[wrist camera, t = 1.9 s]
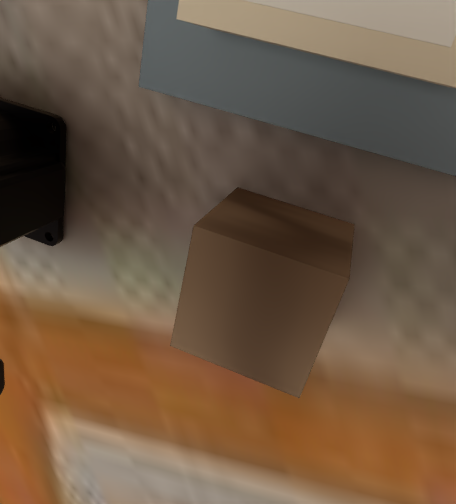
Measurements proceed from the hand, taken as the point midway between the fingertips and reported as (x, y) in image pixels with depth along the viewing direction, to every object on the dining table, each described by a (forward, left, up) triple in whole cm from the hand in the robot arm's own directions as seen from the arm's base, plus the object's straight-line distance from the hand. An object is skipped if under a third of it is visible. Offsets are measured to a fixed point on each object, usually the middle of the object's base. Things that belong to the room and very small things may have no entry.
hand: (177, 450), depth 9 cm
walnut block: (0, 0, -11) cm, 11 cm away
